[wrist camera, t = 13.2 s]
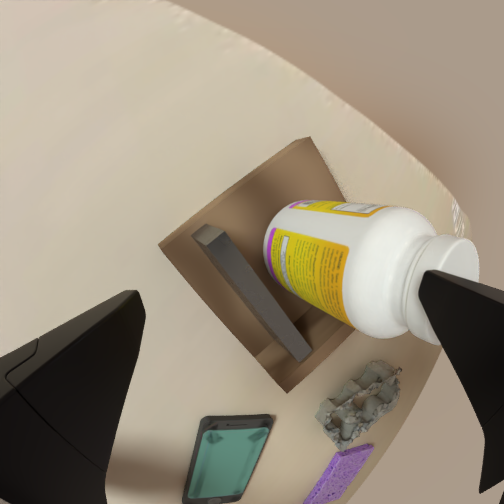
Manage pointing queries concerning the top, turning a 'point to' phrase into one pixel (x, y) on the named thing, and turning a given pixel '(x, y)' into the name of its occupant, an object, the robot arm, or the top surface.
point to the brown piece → (262, 258)
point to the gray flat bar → (250, 289)
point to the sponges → (339, 474)
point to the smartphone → (225, 457)
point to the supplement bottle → (363, 262)
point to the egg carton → (372, 407)
